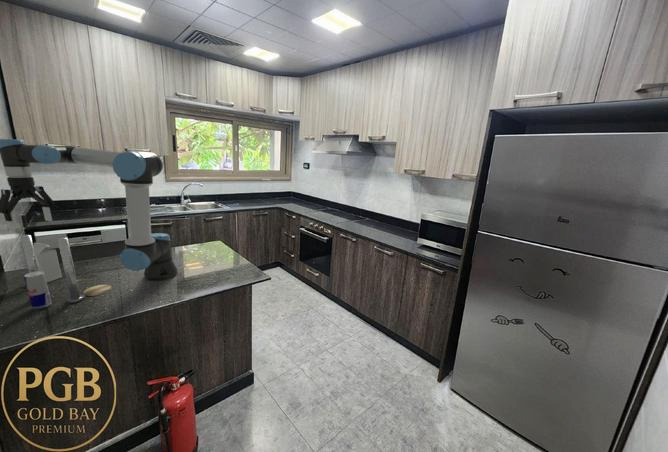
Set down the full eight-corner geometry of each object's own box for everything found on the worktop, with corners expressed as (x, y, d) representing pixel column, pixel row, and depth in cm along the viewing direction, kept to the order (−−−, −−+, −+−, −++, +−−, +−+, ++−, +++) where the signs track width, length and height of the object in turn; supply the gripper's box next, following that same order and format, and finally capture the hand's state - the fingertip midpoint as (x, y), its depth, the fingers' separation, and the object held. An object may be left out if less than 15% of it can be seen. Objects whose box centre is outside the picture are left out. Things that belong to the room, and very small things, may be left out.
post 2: (88, 296, 121) (76, 236, 114) (75, 304, 115) (62, 240, 108) (76, 295, 121) (63, 235, 114) (62, 303, 115) (47, 239, 108)
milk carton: (45, 283, 130) (36, 246, 125) (34, 281, 131) (24, 244, 126) (62, 277, 137) (54, 242, 132) (51, 275, 138) (43, 240, 133)
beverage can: (41, 303, 114) (33, 270, 111) (55, 303, 115) (48, 270, 111) (28, 310, 109) (19, 276, 105) (43, 310, 110) (34, 276, 106)
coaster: (116, 286, 131) (116, 285, 131) (98, 296, 121) (98, 295, 121) (97, 285, 131) (96, 284, 131) (77, 295, 122) (76, 294, 121)
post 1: (54, 294, 121) (40, 234, 114) (40, 301, 116) (24, 238, 108) (42, 293, 122) (26, 233, 114) (26, 300, 116) (9, 237, 109)
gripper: (44, 174, 128) (54, 217, 133) (-28, 178, 104) (-12, 231, 109) (58, 174, 127) (68, 218, 133) (-10, 179, 103) (5, 232, 109)
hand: (32, 224), depth 121 cm, fingers open, 13 cm apart
